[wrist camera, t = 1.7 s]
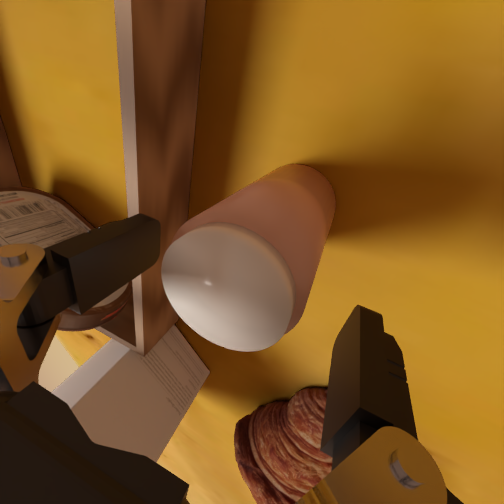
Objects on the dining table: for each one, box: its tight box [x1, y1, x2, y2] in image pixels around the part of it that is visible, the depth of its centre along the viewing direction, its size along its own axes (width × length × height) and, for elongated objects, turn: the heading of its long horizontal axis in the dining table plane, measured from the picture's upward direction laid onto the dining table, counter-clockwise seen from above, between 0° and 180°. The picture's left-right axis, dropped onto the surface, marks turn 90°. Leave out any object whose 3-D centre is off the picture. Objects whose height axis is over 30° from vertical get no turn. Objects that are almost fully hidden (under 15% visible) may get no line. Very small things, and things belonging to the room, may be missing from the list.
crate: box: [0, 0, 206, 357], centre depth 19 cm, size 26×21×5 cm
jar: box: [161, 164, 336, 352], centre depth 12 cm, size 5×5×10 cm
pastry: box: [234, 387, 332, 504], centre depth 24 cm, size 17×15×8 cm
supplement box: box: [51, 325, 210, 462], centre depth 23 cm, size 9×9×15 cm
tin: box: [0, 186, 133, 331], centre depth 21 cm, size 15×3×8 cm, turn 53°
